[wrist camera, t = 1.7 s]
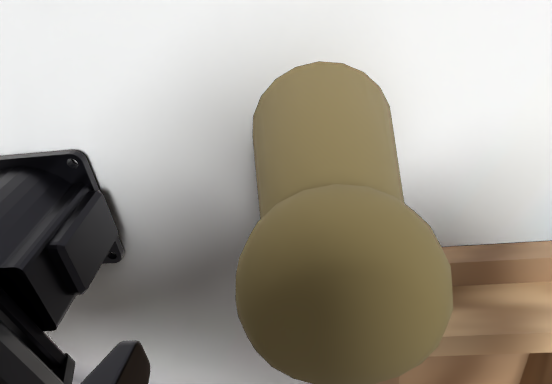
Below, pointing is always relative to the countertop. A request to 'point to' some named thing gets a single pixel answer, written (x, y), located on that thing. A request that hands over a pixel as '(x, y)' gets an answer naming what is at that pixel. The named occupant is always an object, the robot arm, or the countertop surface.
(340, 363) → the cork
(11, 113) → the countertop surface
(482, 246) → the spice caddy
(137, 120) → the countertop surface
